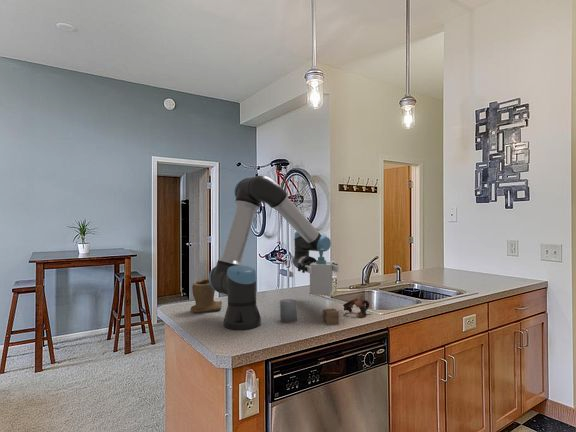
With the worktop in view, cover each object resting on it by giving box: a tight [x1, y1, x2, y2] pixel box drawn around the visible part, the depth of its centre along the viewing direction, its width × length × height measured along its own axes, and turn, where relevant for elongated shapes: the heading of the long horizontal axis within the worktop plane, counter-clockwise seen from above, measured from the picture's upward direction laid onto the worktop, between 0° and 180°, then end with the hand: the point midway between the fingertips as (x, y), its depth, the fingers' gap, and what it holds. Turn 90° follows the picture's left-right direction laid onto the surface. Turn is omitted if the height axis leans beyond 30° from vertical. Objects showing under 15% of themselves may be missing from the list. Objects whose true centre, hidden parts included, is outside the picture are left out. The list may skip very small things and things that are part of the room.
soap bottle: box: [309, 249, 334, 296], centre depth 157 cm, size 9×9×19 cm
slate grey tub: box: [279, 298, 298, 323], centre depth 152 cm, size 7×7×8 cm
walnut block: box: [322, 308, 340, 326], centre depth 147 cm, size 5×5×5 cm
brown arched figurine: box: [342, 297, 370, 318], centre depth 159 cm, size 12×10×8 cm
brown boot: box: [190, 278, 223, 313], centre depth 169 cm, size 15×12×15 cm
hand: (324, 269), depth 153 cm, fingers closed on soap bottle, 12 cm apart
